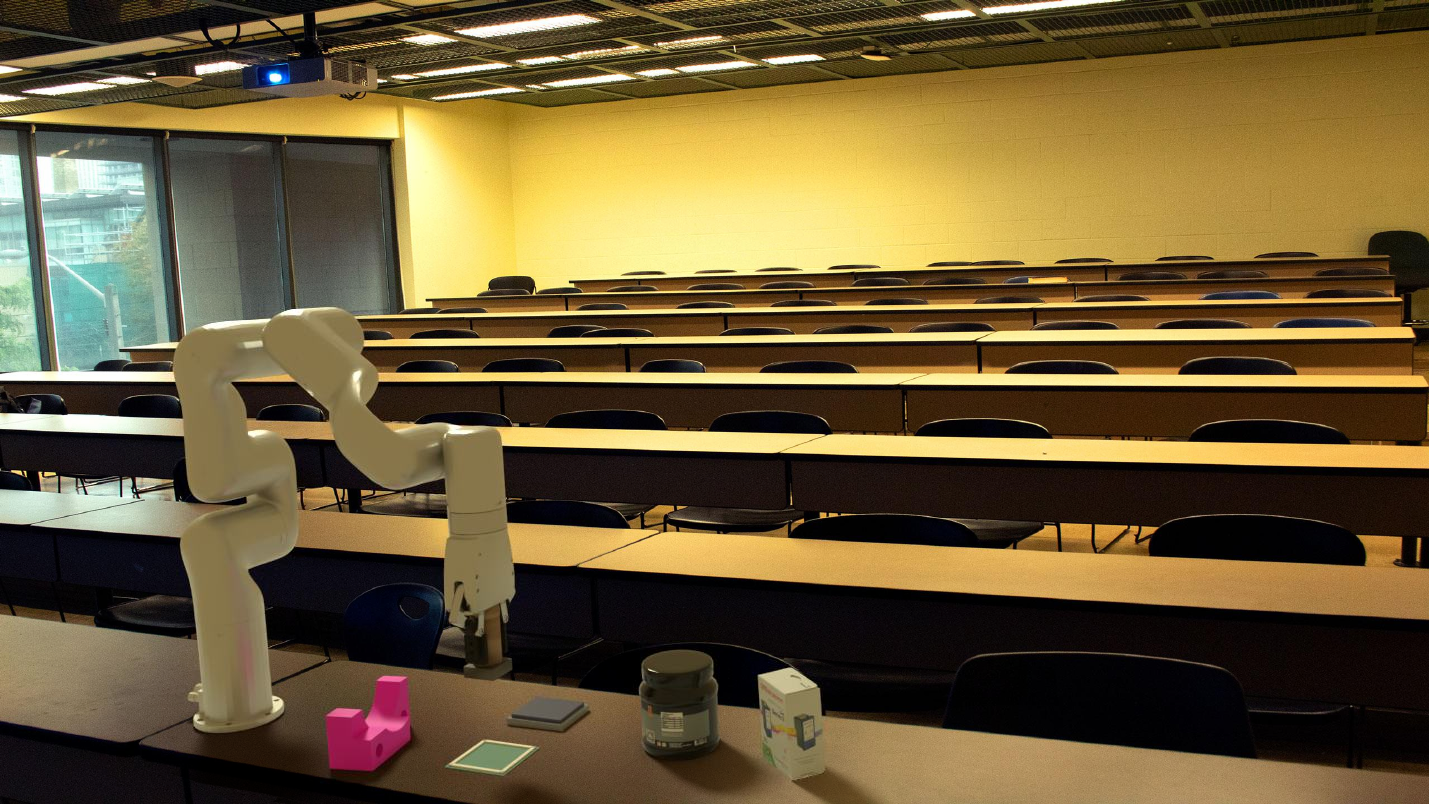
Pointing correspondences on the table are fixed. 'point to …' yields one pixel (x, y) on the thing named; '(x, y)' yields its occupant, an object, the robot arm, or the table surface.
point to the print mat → (492, 757)
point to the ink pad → (548, 713)
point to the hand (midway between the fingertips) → (486, 656)
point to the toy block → (370, 728)
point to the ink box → (791, 723)
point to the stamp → (490, 650)
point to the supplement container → (679, 705)
